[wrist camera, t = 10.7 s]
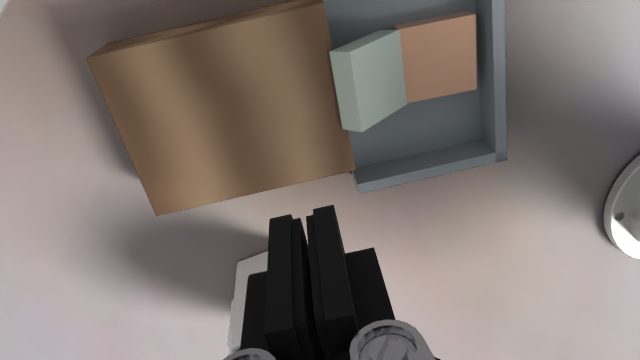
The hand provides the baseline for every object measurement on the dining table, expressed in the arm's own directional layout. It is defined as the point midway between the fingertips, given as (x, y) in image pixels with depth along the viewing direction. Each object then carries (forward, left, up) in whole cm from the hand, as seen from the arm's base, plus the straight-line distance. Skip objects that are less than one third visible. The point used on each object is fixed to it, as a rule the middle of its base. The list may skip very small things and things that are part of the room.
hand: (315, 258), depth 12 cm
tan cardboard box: (+4, +2, -22) cm, 23 cm away
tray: (-9, +2, -23) cm, 24 cm away
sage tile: (-5, +2, -20) cm, 20 cm away
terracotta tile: (-10, +2, -20) cm, 23 cm away
